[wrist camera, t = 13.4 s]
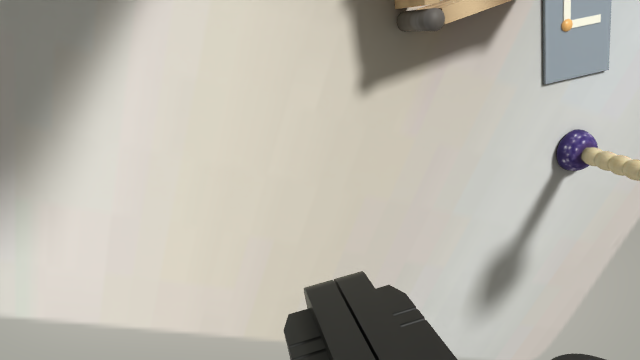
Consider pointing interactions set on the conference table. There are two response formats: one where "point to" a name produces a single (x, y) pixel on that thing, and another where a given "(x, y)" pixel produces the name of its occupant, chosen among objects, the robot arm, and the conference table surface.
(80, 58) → the conference table surface
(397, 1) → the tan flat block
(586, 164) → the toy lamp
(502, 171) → the conference table surface
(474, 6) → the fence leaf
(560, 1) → the card
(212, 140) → the conference table surface
